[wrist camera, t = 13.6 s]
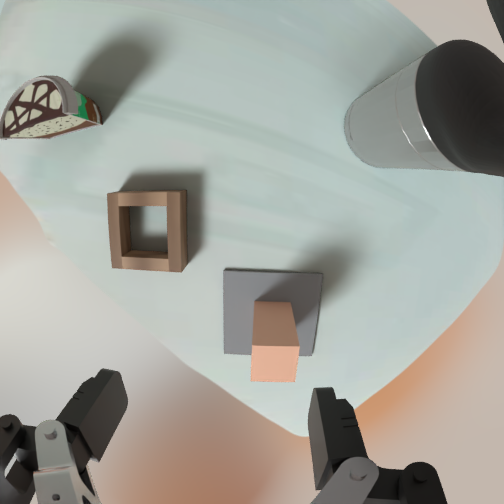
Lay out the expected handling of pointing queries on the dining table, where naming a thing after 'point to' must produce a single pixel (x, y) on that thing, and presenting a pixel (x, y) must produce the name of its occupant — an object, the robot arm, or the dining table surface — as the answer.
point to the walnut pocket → (122, 240)
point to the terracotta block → (274, 343)
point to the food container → (47, 110)
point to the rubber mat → (271, 290)
